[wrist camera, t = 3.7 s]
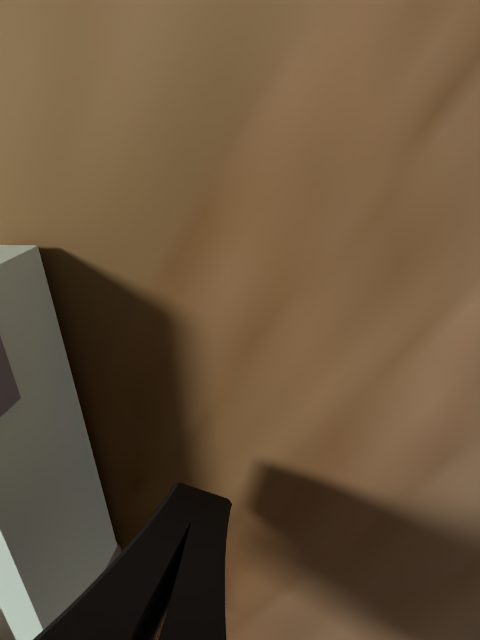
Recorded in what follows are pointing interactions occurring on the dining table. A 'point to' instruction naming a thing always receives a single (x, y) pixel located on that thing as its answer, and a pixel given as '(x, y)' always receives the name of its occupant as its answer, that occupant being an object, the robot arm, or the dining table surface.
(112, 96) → the dining table surface
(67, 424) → the door
